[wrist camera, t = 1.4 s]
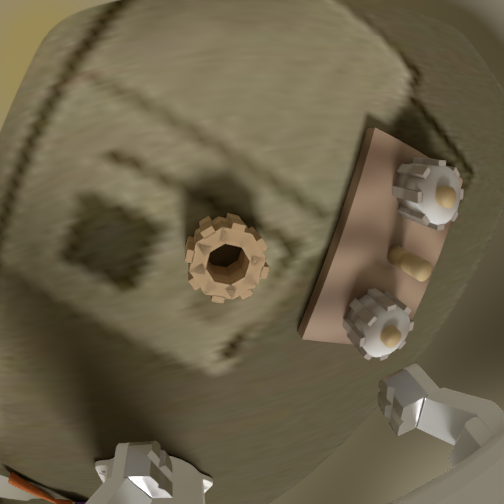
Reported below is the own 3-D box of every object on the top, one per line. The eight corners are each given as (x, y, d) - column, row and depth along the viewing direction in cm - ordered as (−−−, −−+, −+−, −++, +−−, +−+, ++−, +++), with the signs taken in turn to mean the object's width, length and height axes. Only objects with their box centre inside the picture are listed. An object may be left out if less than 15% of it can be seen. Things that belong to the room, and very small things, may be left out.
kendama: (5, 479, 29) (99, 524, 34) (15, 461, 35) (102, 503, 39) (7, 492, 29) (95, 534, 34) (15, 475, 35) (98, 514, 39)
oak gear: (247, 289, 29) (255, 309, 26) (178, 275, 28) (177, 294, 24) (268, 223, 28) (280, 234, 24) (196, 204, 26) (196, 213, 22)
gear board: (391, 341, 36) (419, 369, 29) (297, 331, 32) (319, 368, 26) (454, 177, 30) (494, 186, 24) (366, 128, 26) (408, 125, 20)
